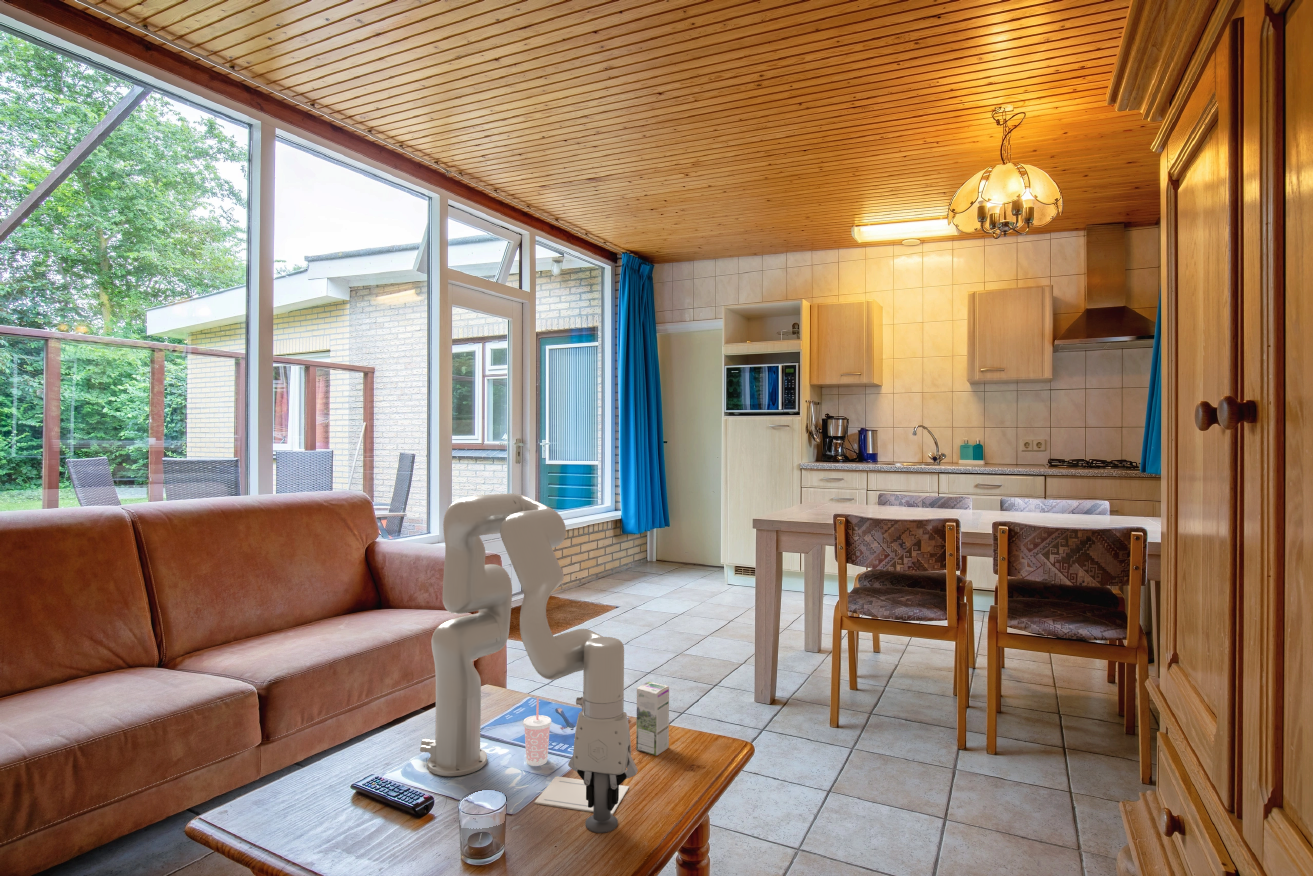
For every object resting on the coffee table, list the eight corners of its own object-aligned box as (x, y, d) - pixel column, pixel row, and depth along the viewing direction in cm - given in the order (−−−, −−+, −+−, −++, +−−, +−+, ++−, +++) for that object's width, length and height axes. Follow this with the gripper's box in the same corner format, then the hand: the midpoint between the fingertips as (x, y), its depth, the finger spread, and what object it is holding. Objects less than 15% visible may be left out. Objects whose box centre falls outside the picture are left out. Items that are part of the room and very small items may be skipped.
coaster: (580, 830, 130) (580, 828, 130) (591, 813, 136) (591, 811, 136) (612, 835, 129) (612, 833, 129) (621, 818, 135) (621, 816, 135)
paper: (534, 803, 139) (534, 801, 139) (556, 777, 150) (556, 776, 150) (612, 815, 136) (612, 813, 136) (629, 788, 146) (629, 786, 146)
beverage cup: (517, 765, 156) (518, 701, 156) (530, 753, 161) (531, 691, 161) (543, 769, 154) (544, 704, 154) (555, 757, 160) (556, 694, 160)
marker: (590, 820, 131) (590, 760, 131) (596, 811, 134) (596, 752, 134) (607, 823, 130) (608, 762, 130) (613, 813, 133) (614, 754, 134)
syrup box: (669, 747, 166) (670, 685, 166) (655, 757, 161) (656, 692, 161) (649, 741, 169) (649, 680, 169) (634, 750, 164) (635, 687, 164)
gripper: (554, 709, 131) (553, 809, 131) (640, 718, 127) (639, 822, 127) (569, 695, 138) (568, 790, 138) (651, 703, 134) (650, 802, 134)
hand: (602, 804), depth 132 cm, fingers closed on marker, 3 cm apart
